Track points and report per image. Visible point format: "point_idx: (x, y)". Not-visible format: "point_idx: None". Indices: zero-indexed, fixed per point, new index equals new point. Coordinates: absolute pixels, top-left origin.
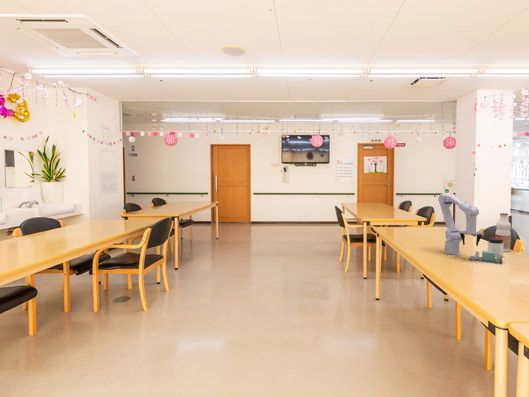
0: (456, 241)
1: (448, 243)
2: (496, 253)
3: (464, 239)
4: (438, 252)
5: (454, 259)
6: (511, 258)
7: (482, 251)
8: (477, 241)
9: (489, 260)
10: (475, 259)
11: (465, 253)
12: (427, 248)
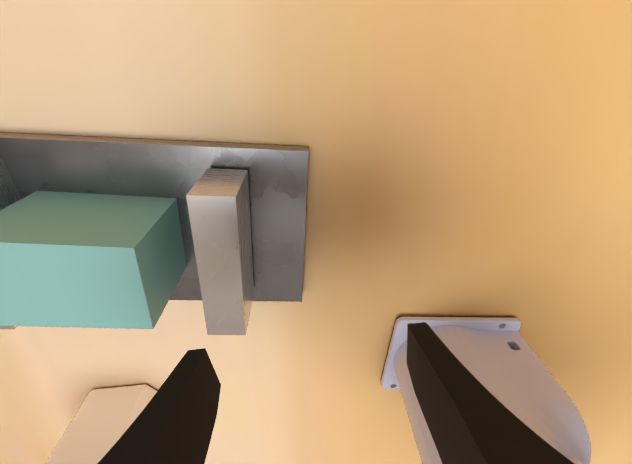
0: None
1: (550, 428)
2: (101, 416)
3: (471, 433)
4: (556, 336)
5: (472, 108)
6: (12, 393)
7: (141, 283)
8: (150, 437)
9: (92, 186)
10: (239, 155)
11: (342, 391)
12: (600, 410)
